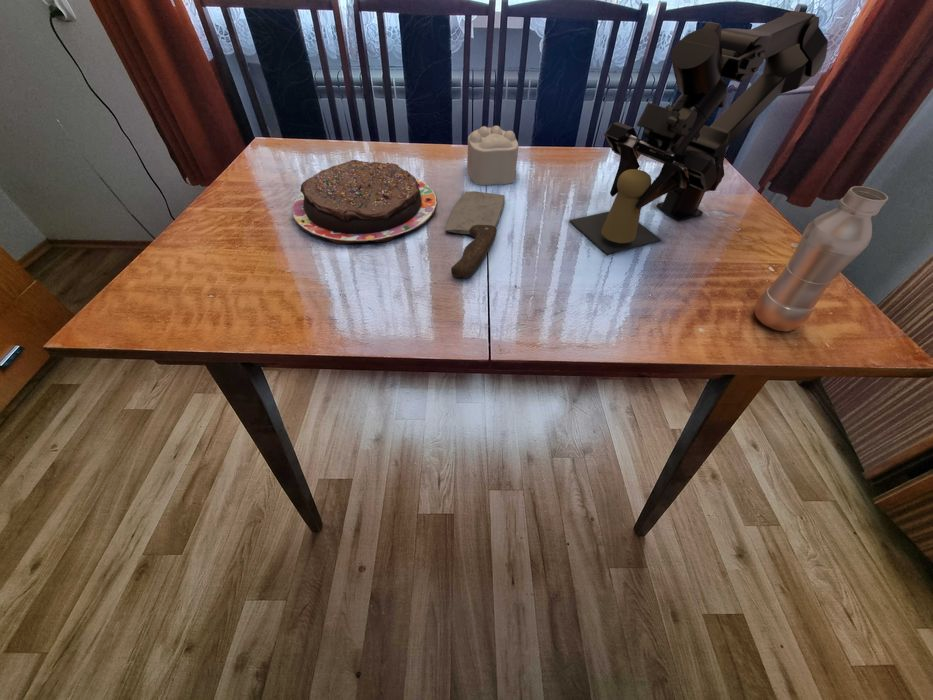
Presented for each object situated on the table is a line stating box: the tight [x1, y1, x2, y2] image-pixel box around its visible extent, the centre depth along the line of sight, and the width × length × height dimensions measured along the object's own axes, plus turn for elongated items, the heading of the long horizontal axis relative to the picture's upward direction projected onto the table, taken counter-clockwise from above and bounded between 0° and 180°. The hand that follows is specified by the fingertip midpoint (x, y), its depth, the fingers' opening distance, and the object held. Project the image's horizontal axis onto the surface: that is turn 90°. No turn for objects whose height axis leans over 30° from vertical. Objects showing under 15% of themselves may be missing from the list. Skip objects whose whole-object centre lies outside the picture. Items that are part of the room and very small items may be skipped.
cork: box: [601, 168, 652, 243], centre depth 70 cm, size 6×6×11 cm
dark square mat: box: [569, 210, 662, 256], centre depth 79 cm, size 12×12×1 cm
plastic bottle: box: [753, 185, 889, 332], centre depth 55 cm, size 6×7×20 cm
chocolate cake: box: [291, 159, 438, 245], centre depth 81 cm, size 28×28×7 cm
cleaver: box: [444, 190, 506, 279], centre depth 77 cm, size 29×10×2 cm, turn 169°
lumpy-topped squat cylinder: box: [466, 125, 519, 186], centre depth 92 cm, size 10×13×9 cm
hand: (623, 201), depth 69 cm, fingers closed on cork, 5 cm apart
